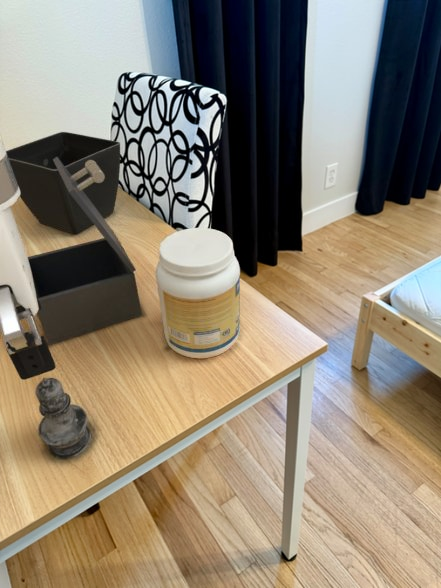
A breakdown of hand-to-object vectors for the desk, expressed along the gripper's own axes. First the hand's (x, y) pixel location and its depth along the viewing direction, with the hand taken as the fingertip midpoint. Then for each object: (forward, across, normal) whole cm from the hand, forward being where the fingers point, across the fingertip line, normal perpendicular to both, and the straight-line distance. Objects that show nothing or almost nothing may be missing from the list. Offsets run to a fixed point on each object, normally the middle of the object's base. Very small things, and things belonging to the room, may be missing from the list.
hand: (32, 340), depth 44 cm
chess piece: (+18, 0, -1) cm, 18 cm away
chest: (+18, -26, +7) cm, 32 cm away
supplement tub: (+18, -10, +22) cm, 30 cm away
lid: (+1, -26, +12) cm, 29 cm away
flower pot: (+18, -61, +12) cm, 65 cm away
